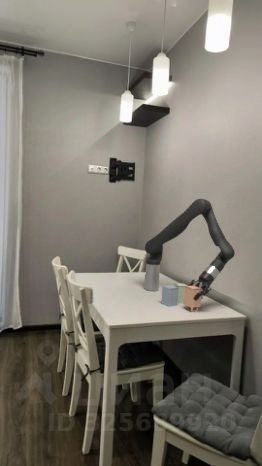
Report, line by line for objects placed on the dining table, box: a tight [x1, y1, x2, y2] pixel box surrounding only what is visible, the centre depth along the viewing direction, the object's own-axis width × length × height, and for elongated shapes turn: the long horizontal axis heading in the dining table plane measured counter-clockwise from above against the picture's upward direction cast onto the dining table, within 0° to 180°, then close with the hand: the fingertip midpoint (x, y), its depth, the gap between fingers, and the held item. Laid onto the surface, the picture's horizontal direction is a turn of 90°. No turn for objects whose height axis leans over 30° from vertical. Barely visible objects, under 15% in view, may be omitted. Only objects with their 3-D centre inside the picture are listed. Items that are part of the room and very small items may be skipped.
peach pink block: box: [183, 285, 203, 308], centre depth 173 cm, size 6×6×10 cm
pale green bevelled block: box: [173, 282, 189, 304], centre depth 188 cm, size 6×6×10 cm
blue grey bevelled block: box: [160, 284, 179, 307], centre depth 181 cm, size 6×6×10 cm
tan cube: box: [186, 305, 199, 313], centre depth 173 cm, size 4×4×4 cm
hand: (190, 297), depth 172 cm, fingers closed on peach pink block, 6 cm apart
